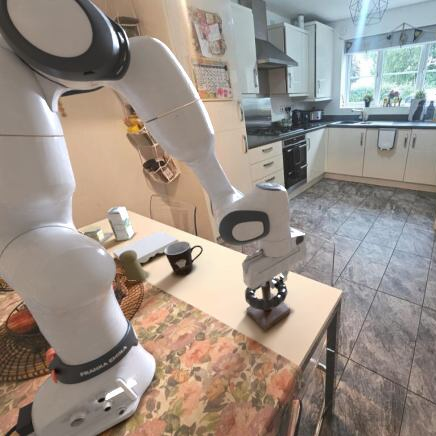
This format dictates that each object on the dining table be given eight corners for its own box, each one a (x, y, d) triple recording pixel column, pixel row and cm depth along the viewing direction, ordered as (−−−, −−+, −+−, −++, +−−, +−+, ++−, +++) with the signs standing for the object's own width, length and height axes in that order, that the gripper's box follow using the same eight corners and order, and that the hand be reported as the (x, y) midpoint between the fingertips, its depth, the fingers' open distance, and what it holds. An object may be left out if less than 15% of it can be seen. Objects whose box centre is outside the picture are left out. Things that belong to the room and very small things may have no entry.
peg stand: (265, 330, 65) (262, 301, 61) (247, 312, 71) (242, 284, 67) (290, 311, 71) (288, 283, 66) (271, 296, 77) (268, 269, 72)
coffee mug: (167, 278, 86) (159, 255, 82) (176, 264, 94) (170, 241, 90) (200, 276, 87) (194, 253, 82) (206, 262, 94) (201, 240, 90)
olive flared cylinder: (137, 284, 84) (127, 258, 79) (123, 282, 85) (111, 257, 81) (150, 273, 90) (140, 248, 85) (136, 272, 91) (126, 247, 86)
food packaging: (131, 270, 92) (179, 245, 106) (127, 263, 90) (177, 239, 104) (115, 258, 100) (162, 236, 114) (112, 251, 99) (160, 230, 113)
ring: (262, 319, 61) (261, 312, 60) (237, 295, 69) (236, 288, 67) (295, 295, 68) (295, 288, 67) (269, 276, 76) (269, 270, 74)
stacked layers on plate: (112, 233, 119) (108, 223, 116) (100, 243, 111) (96, 232, 108) (91, 235, 118) (86, 225, 116) (78, 245, 110) (72, 234, 108)
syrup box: (121, 235, 117) (110, 207, 111) (135, 233, 118) (124, 206, 112) (116, 241, 112) (104, 212, 106) (130, 239, 113) (119, 211, 107)
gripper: (248, 264, 56) (255, 309, 62) (310, 232, 68) (310, 272, 74) (234, 254, 60) (241, 296, 66) (294, 225, 72) (296, 263, 78)
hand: (278, 283), depth 70 cm, fingers closed on ring, 2 cm apart
